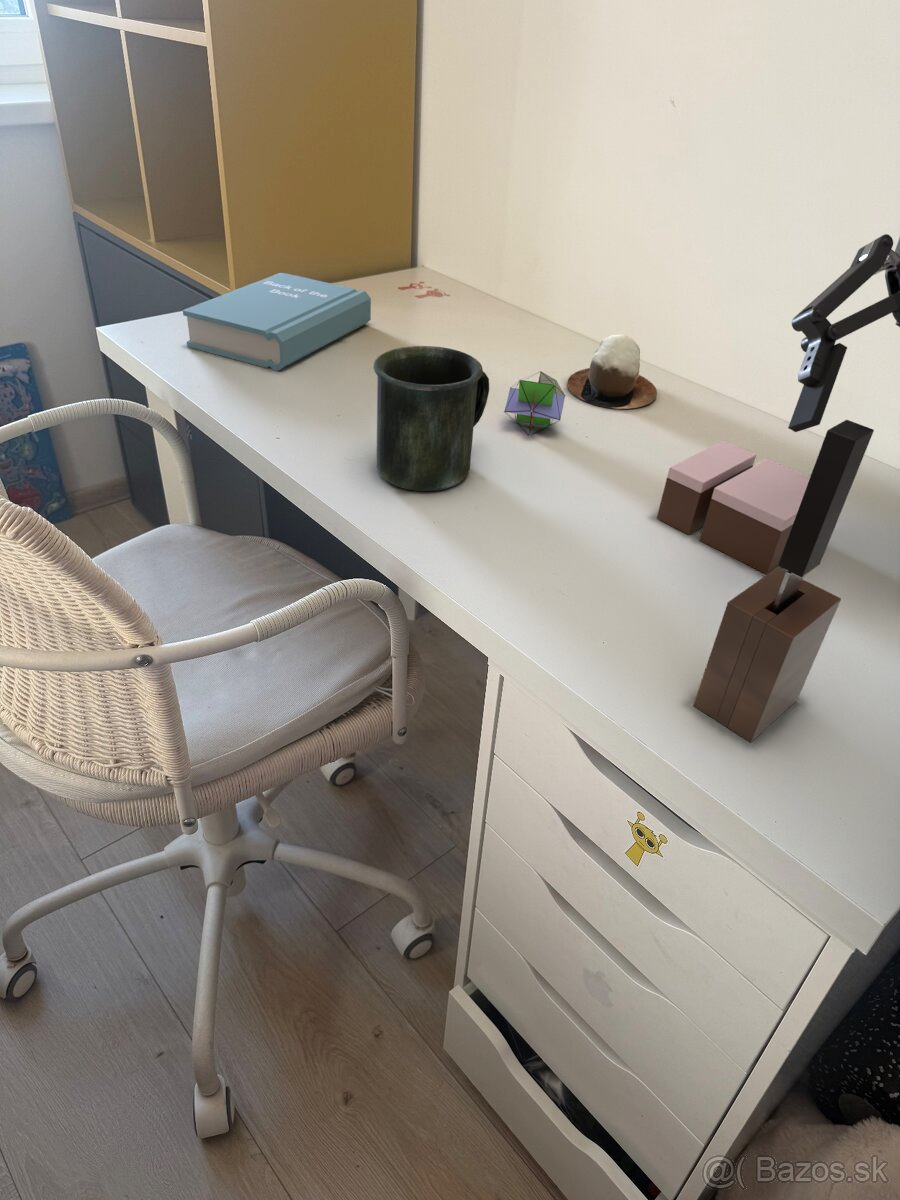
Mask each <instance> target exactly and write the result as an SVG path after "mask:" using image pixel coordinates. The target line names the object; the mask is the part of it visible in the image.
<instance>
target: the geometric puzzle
mask: <svg viewBox="0 0 900 1200" xmlns="http://www.w3.org/2000/svg"><path fill="white" fill-rule="evenodd" d="M538 374H539V377H538V382H537V381H530V380H527V379H529V378H530V377H532V374H530V375H528V376H527V377H526V378H525V377H523V378H522V379H520V378H519V379H518V381H517V382H515V383H514V384H513V385H512V386H509V391H508V395H507V398H506V403H505V407H504V411H503V413H504V414H505V415H508V417H509V418H510V419H511V420H512V421H513V422H514V423H515V424H516V425H517V426H519V428H520V429H521V430H522V431H523V432H524V433H525V434H528V437H531V430H532V426H533V425H538V426H545V427H543V428H541V429H539V430H537V431H536V432H534V433H532V435H534V434H536V433H539V432H541V431H542V430H544V429H546V428H550V427H551V426H552V425H554V424H556V423H559V421H560V422H561V421H562V419H561V418H562V414H563V409H564V403H565V399H566V396H567V395H566V394H565V392H564V391H563V389H562V388H561V386H560V384H559V382H558V381H557V379H555V378H554V377H553V376H550V375H548V374H547V373H545V372H543V371H542V370H540V371H538V372H535V373H534V375H538ZM515 386H516V387H515ZM509 413H510V414H514V417H515V418H513V417H512V416H511V415H510V414H509ZM551 420H556V421H555V422H553V423H551ZM520 423H523V424H524V423H525V424H529V431H528V432H527V431H526V430H525V428H523V427H522V426H521V424H520Z"/></svg>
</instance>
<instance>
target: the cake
mask: <svg viewBox="0 0 900 1200" xmlns="http://www.w3.org/2000/svg"><path fill="white" fill-rule="evenodd" d="M810 477H811V476H809V475H807V474H804V473H802V472H799V471H796V470H794V469H792V468H790V467H787V466H785V465H783V464H781V463H778V462H775V461H773V460H771V459H769V458H766V459H764V460H763V461H761V462H759V463H757V464H756V465H753V467H752V468H750V469H748V470H746V471H745V472H743V473H741V474H739V475H737V476H736V477H734V478H732V479H730V480H728V481H726V482H725V483H723V484H721V485H719V486H717V487H715V488H714V492H713V495H712V499H711V502H710V505H709V509H708V512H707V516H706V519H705V523H704V526H703V527H702V528H701V529H702V530H701V533H700V536H699V542H702V543H704V544H706V545H707V546H709V547H711V548H714V549H715V550H717V551H720V552H722V553H723V554H726V555H727V556H729V557H731V558H733V559H735V560H737V561H739V562H741V563H743V564H745V565H746V566H749V567H751V568H753V569H755V570H757V571H759V572H760V573H763V574H764V575H767V574H769V573H770V572H772V571H773V570H774V569H776V568H777V567H779V566H778V564H779V561H780V558H781V555H782V553H783V550H784V547H785V545H786V542H787V539H788V536H789V534H790V531H791V528H792V526H793V523H794V520H795V517H796V515H797V512H798V509H799V506H800V504H801V501H802V498H803V496H804V493H805V490H806V487H807V485H808V482H809V479H810Z"/></svg>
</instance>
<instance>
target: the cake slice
mask: <svg viewBox="0 0 900 1200" xmlns="http://www.w3.org/2000/svg"><path fill="white" fill-rule="evenodd" d="M756 457H757V454H756V453H754V452H752V451H749V450H747V449H745V448H742V447H740V446H737V445H735V444H733V443H730V442H727V441H726V440H722V441H720V442H718V443H716V444H714V445H712V446H709V447H707V448H706V449H703V450H701V451H699V452H697V453H695V454H693V455H691V456H689V457H687V458H685V459H683V460H681V461H678V462H677V463H675V464H673V465H670V466H669V468H668V471H667V476H666V477H667V478H666V481H665V484H664V488H663V491H662V495H661V499H660V504H659V507H658V512H657V515H656V519H657V520H659V521H661V522H662V523H664V524H667V525H668V526H670V527H673V528H674V529H676V530H678V531H680V532H682V533H684V534H686V535H688V536H689V535H691V534H693V533H695V532H697V531H698V530H700V529H702V528H703V526H704V523H705V519H706V516H707V512H708V509H709V505H710V502H711V499H712V495H713V492H714V488H715V487H717V486H719V485H721V484H723V483H725V482H726V481H728V480H730V479H732V478H734V477H736V476H737V475H739V474H741V473H743V472H745V471H746V470H748V469H750V468H752V467H754V464H755V461H756Z"/></svg>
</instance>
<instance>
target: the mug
mask: <svg viewBox="0 0 900 1200" xmlns="http://www.w3.org/2000/svg"><path fill="white" fill-rule="evenodd" d="M372 366H373V367H372V368H373V371H374V374H376V376H377V386H376V387H377V390H376V391H377V393H376V394H377V395H376V399H377V400H376V464H375V465H376V470H377V471H378V473H379V474H380V475H381V477H382V478H383V480H384V481H386V482H388V483H389V484H391V485H393V486H395V487H398V488H401V489H404V490H410V491H418V492H433V491H434V492H435V491H440V490H441V491H442V490H446V489H449V488H452V487H454V486H456V485H458V484H460V483H462V482H463V480H465V478H466V477H467V476H468V474H469V472H470V469H471V461H472V460H471V459H472V451H473V450H472V449H473V437H474V427H476V425H477V424H478V423H479V422H480V420H481V418H482V416H483V414H484V413H485V412H484V411H485V409H486V406H487V403H488V398H489V395H490V394H489V393H490V378H489V377H488V375H487V373H486V372H484V370H483V366H482V364H481V362H480V361H479V360H478V359H477V358H475V357H474V356H472V355H471V354H468V353H466V352H463V351H461V350H457V349H453V348H450V347H442V346H435V345H434V346H433V345H412V346H411V345H409V346H403V347H398V348H393V349H391V350H387V351H385V352H383V353H381V354H380V355H378V356H377V357H376V358H375V360H374V361H373V365H372Z"/></svg>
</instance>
